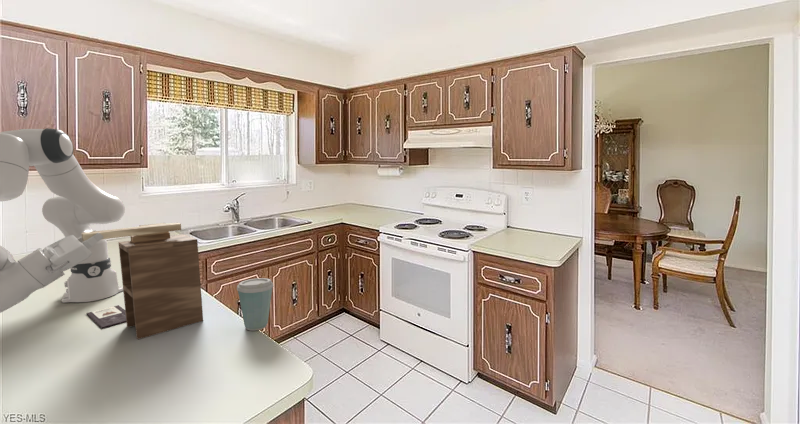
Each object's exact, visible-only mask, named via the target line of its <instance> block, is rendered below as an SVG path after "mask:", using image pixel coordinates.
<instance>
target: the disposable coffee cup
mask: <svg viewBox="0 0 800 424" xmlns="http://www.w3.org/2000/svg"><path fill="white" fill-rule="evenodd" d="M274 286H275V285H274V283H273V282H272V279H270V278H267V277H266V278H265V277H261V278H260V277H259V278H249V279H246V280H245V279H244V280H242V281H240V282H239V283H238V284H237V285H236V290H237V294H238V297H239V298H238V300H239V302H240V303H239V304H240V310H241V314H242V319H243V320H242V321H243V324H244V328H245V329H246V330H247V331H260V330H263V329H265V328H266V327H267V326H268V323H269V316H270V310H271V309H270V308H271V302H272V294H273V288H274ZM256 329H257V330H256Z"/></svg>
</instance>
